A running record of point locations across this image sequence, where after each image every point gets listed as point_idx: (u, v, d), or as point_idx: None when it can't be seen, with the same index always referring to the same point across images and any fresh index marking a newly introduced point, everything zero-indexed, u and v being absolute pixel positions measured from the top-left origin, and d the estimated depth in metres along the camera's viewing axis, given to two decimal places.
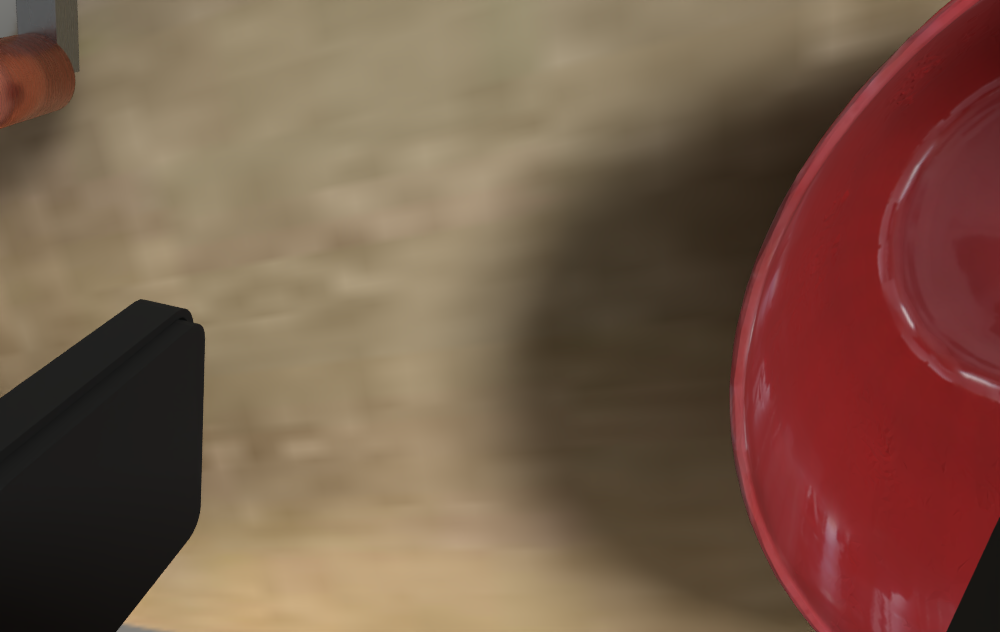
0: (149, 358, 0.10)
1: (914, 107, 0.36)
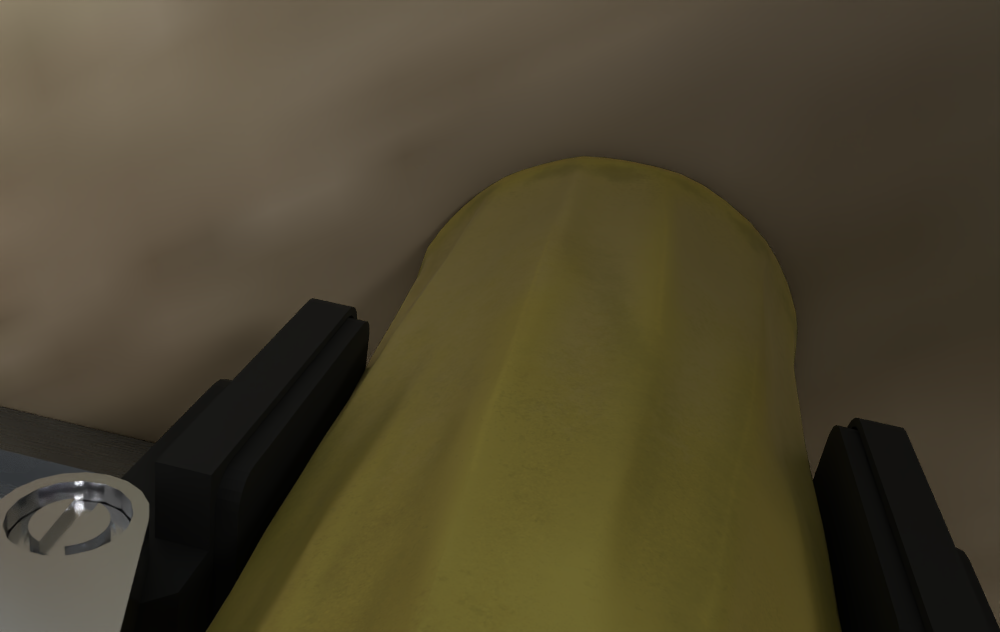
0: (335, 353, 0.10)
1: None
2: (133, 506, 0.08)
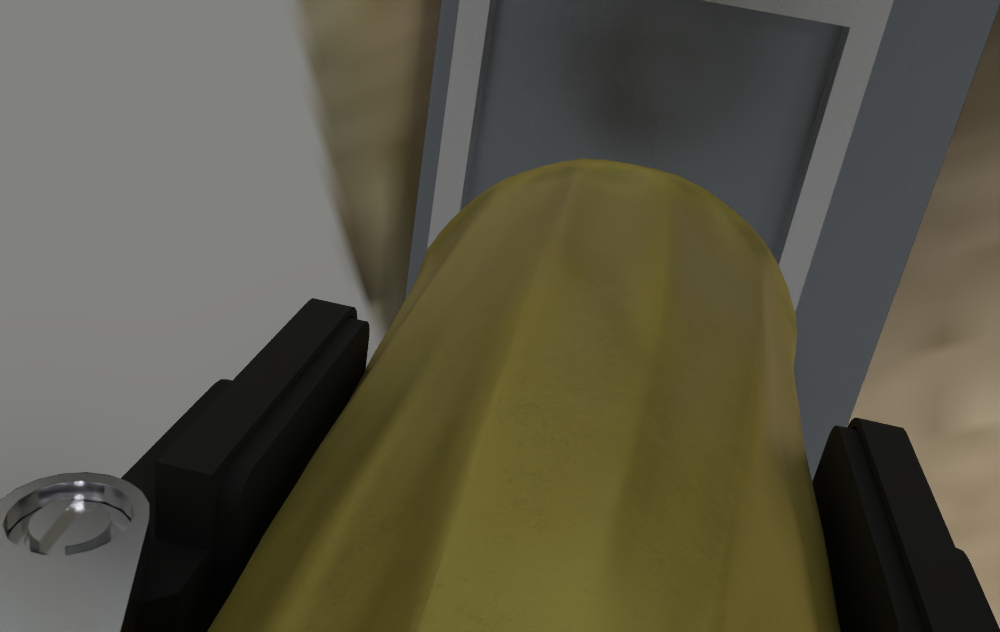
0: (335, 353, 0.10)
1: None
2: (133, 506, 0.08)
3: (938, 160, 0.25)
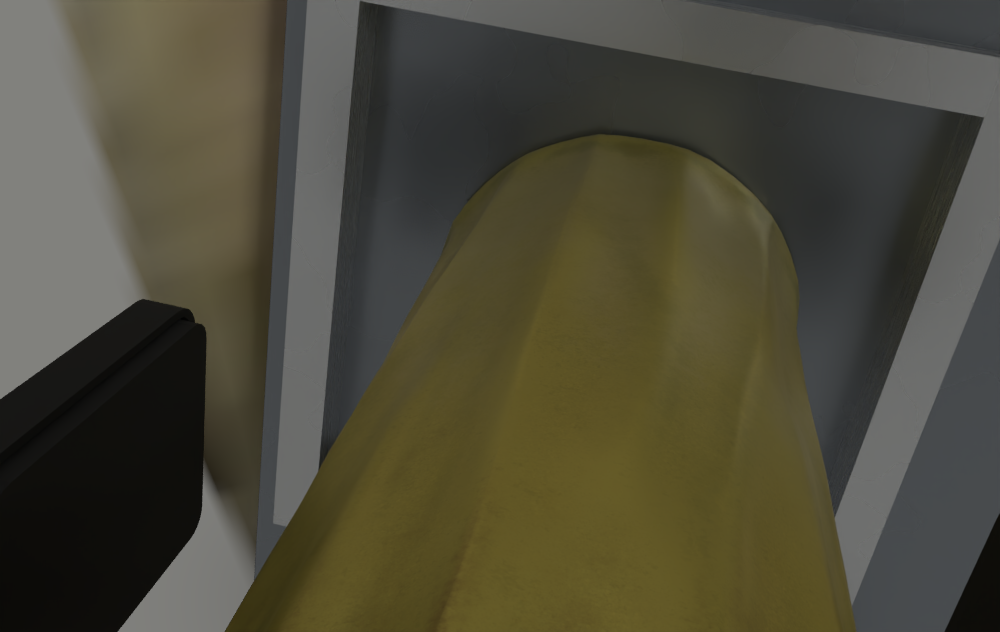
0: (151, 358, 0.10)
1: None
2: None
3: None
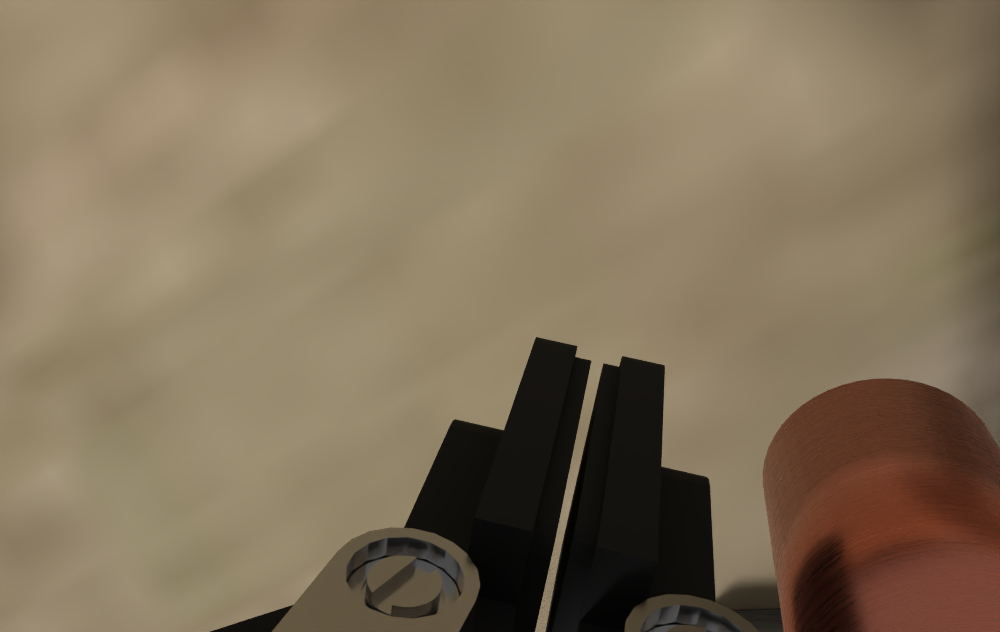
0: (578, 396, 0.10)
1: None
2: (457, 563, 0.08)
3: None
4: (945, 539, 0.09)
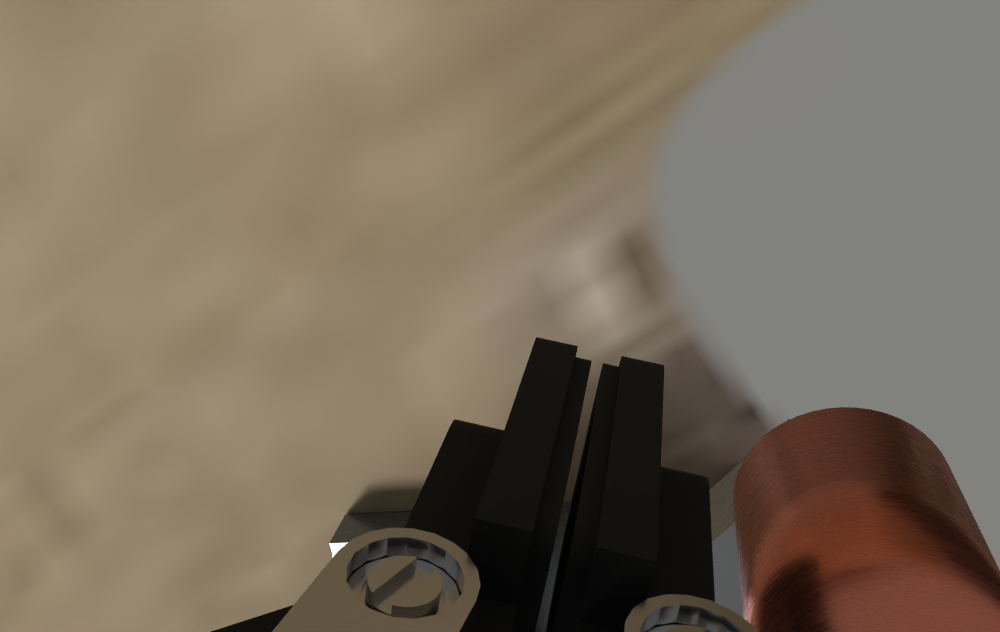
0: (578, 395, 0.10)
1: None
2: (457, 563, 0.08)
3: None
4: None
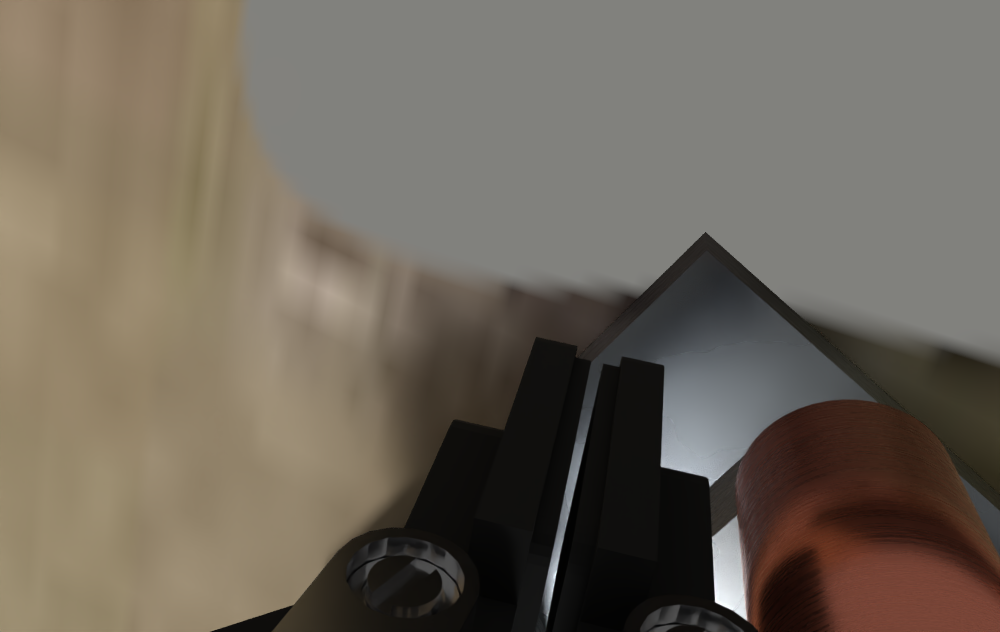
0: (578, 396, 0.10)
1: None
2: (458, 563, 0.08)
3: None
4: None
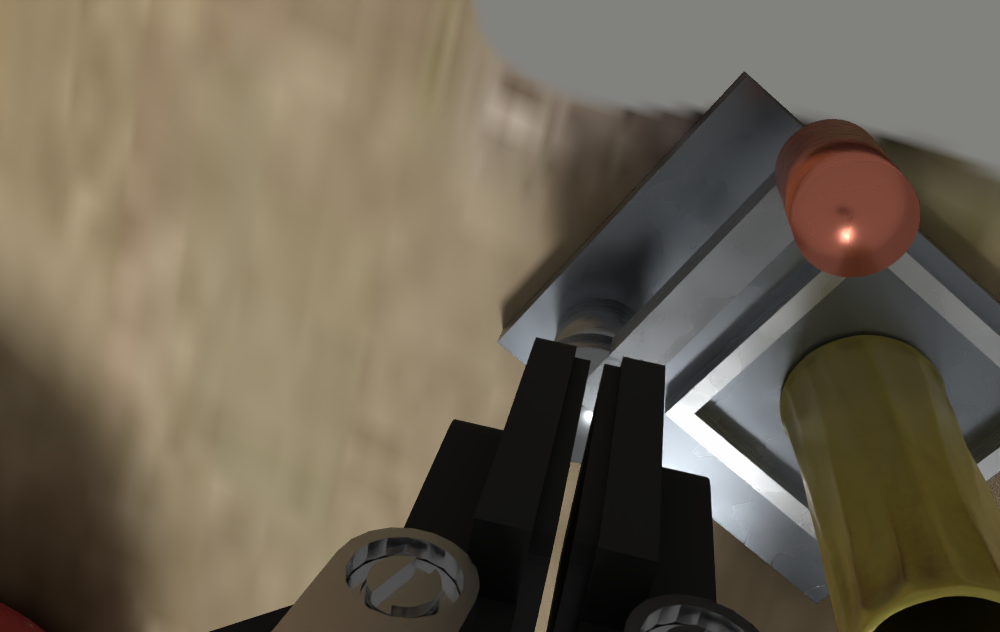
0: (578, 396, 0.10)
1: None
2: (457, 563, 0.08)
3: (742, 539, 0.40)
4: None
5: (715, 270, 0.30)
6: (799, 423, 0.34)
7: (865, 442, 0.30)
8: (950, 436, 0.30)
